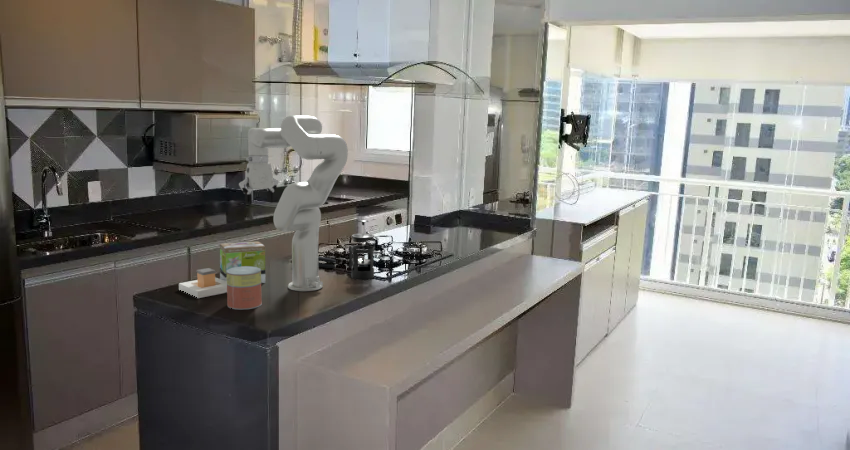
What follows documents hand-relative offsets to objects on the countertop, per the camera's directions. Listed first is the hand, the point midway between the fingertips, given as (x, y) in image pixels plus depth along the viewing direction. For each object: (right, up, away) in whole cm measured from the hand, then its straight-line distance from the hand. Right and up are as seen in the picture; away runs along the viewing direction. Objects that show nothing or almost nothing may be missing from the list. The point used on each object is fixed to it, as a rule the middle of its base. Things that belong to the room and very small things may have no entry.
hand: (259, 203), depth 257 cm
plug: (-13, -32, -23) cm, 41 cm away
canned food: (+5, -36, -38) cm, 53 cm away
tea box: (-4, -31, -10) cm, 33 cm away
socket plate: (-13, -32, -23) cm, 42 cm away
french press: (+40, -30, +2) cm, 50 cm away
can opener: (+19, -27, +16) cm, 37 cm away
